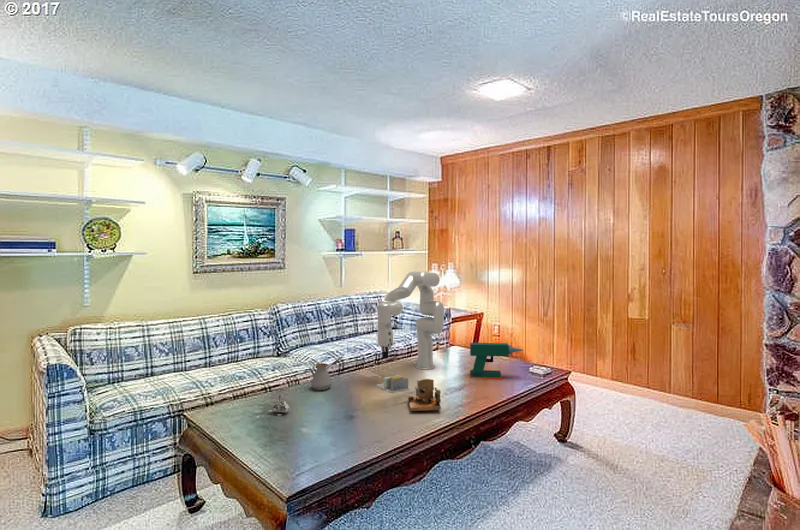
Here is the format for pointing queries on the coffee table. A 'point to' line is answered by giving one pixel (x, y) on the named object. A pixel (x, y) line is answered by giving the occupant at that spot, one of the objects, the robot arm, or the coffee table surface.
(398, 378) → the brass block
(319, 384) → the coffee pot
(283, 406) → the grey craggy lump
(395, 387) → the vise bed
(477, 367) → the power tool
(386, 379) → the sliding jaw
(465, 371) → the coffee table surface
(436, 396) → the armchair
